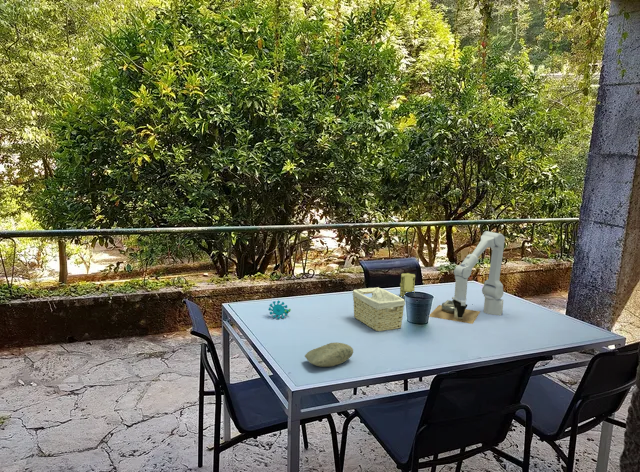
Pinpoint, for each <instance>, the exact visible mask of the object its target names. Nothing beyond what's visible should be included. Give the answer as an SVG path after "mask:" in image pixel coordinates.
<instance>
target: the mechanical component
mask: <svg viewBox="0 0 640 472" xmlns="http://www.w3.org/2000/svg"><path fill="white" fill-rule="evenodd" d="M415 281H416V274H415V273H410V272H406V273H401V274H400V283H399V297H400V296H402V297H404V295H405V293H406V292H412V291H414V292H415V284H416V283H415ZM402 297H401V298H402ZM404 298H405V297H404Z"/></svg>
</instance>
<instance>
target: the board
mask: <svg viewBox="0 0 640 472" xmlns="http://www.w3.org/2000/svg"><path fill="white" fill-rule="evenodd" d="M441 309H442V304H439V305H437V306H436V308H435V309H434V310H432V312H430V314H429V315H430V316H429V315H428V316H429V318H436V319H440V320H441V319H442V320H448V321H453V322H459V323H464V324H471V325H473V324H474V323H475V321H476V320H477V318H478V317H479V315H480V313H481V312H482V311H480V310H475V309H474V310H473V309H469V308H466V309H465V313H464V314H463V319H457V318H454V314H450V313H446V312H443V311H442V310H441Z"/></svg>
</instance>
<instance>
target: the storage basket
mask: <svg viewBox="0 0 640 472" xmlns="http://www.w3.org/2000/svg"><path fill="white" fill-rule="evenodd" d="M370 294H371V296H370V297H368V296H367V295H370ZM352 297H353V298H352V299H353V300H352V301H353V318H355V319H356V320H358V321H360V322H361V323H364V325H366V326H367V327H368V328H371V329H373V330H374V331H376V332H382V331H390V330H397V329H401V328H402V323H403V317H404V308H405V305H406V301H405V299H404V298H402V297H400V295H396V294H394V293H393V292H390V291H388V290H386V289H384V288H381V287H379V286H378V287H368V288H367V287H365V288H359V289H357V288H356V289H353V290H352Z"/></svg>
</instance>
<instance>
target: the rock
mask: <svg viewBox="0 0 640 472" xmlns="http://www.w3.org/2000/svg"><path fill="white" fill-rule="evenodd" d="M353 353H354V348H353V347H352V346H351V345H349V344H346V343H344V342H330V343H327V344H324V345H321V346H319V347H317V348H313V349H311V350H309V351H308V352H306V353H305V354H304V357H305V359H306V360H307V361H308V362H309V364H311V365H314V366H316V367H322V368H324V367H325V368H329V367H335V366H339V365H341V364H343V363H345V362H346V361H348V360H349V359H350V358H351V357H352V356H353Z"/></svg>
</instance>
